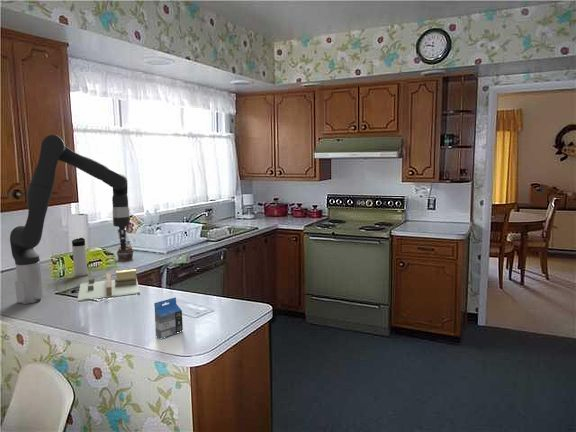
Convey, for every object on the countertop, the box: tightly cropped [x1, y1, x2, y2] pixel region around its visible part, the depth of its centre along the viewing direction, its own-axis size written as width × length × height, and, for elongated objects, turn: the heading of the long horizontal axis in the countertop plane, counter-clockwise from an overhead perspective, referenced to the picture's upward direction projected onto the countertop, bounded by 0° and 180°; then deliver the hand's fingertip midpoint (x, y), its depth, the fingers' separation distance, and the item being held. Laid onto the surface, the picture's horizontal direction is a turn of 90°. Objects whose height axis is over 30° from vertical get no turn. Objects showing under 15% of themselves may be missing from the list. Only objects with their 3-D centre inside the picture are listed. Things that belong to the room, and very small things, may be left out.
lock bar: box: [115, 268, 138, 283], centre depth 216 cm, size 9×4×6 cm, turn 112°
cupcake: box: [116, 242, 135, 262], centre depth 267 cm, size 10×10×10 cm
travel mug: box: [71, 237, 89, 278], centre depth 231 cm, size 6×7×20 cm
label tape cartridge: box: [154, 297, 184, 339], centre depth 156 cm, size 9×4×12 cm, turn 136°
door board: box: [77, 272, 141, 303], centre depth 209 cm, size 26×26×5 cm
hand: (123, 248), depth 214 cm, fingers open, 8 cm apart
